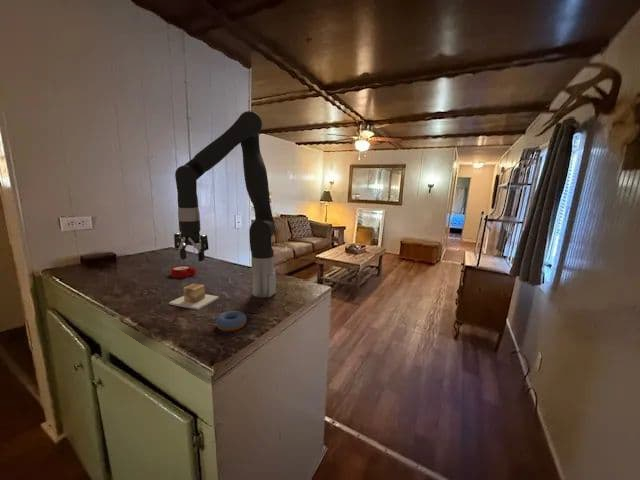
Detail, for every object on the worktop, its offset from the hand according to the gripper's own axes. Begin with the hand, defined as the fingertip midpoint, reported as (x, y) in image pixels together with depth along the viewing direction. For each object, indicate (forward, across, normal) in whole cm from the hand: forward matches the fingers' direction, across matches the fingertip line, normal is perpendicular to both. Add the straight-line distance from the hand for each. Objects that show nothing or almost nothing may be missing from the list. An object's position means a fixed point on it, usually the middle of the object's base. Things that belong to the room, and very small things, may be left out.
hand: (192, 260), depth 109 cm
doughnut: (+18, -25, +12) cm, 33 cm away
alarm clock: (+18, +30, -25) cm, 43 cm away
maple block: (+17, 0, 0) cm, 17 cm away
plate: (+17, 0, 0) cm, 17 cm away
